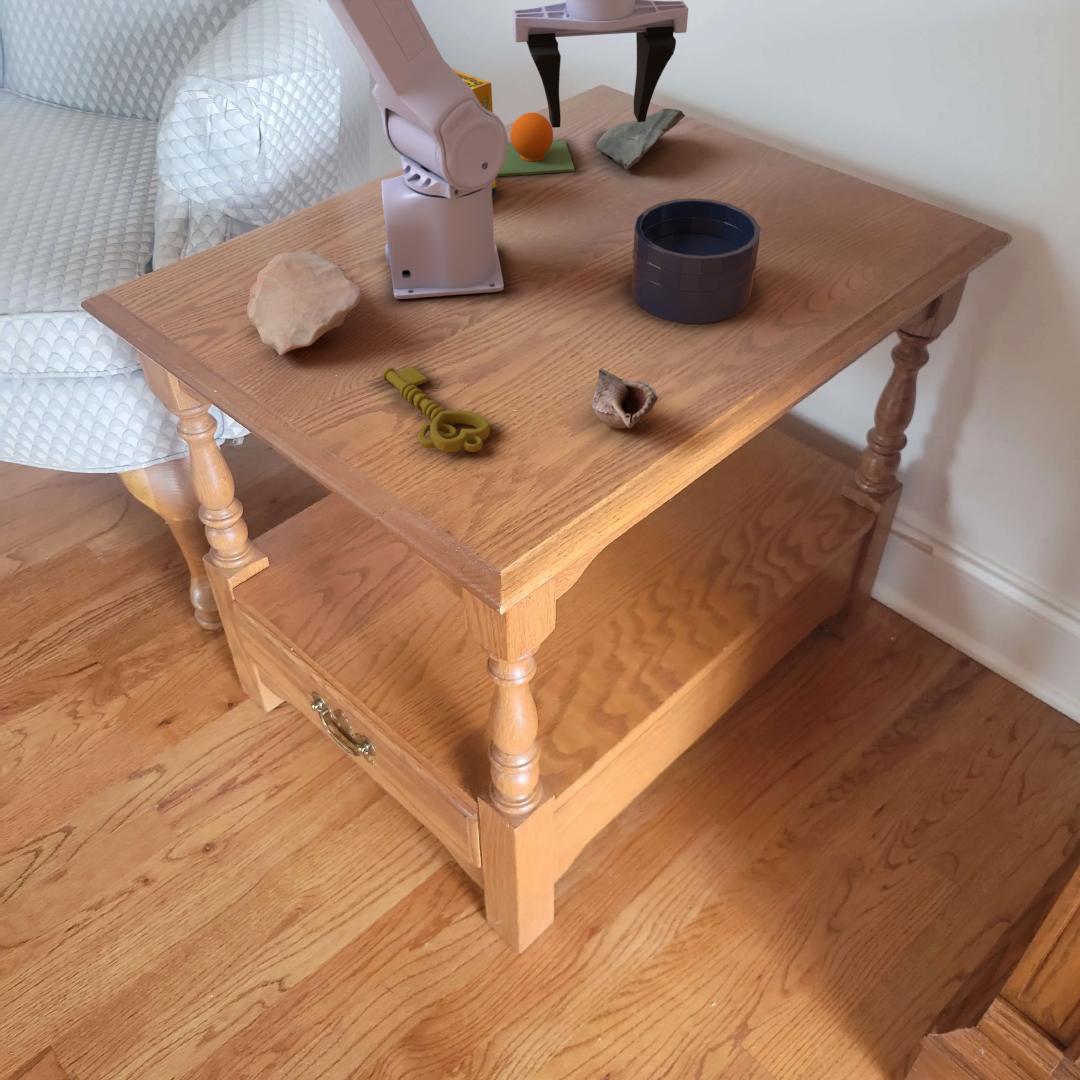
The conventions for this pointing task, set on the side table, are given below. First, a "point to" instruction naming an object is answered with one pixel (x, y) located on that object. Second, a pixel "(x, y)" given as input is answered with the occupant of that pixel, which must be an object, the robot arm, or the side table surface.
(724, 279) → the pot
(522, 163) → the green flat plate
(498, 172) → the robot arm
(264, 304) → the stone tool
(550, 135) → the orange
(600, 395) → the seashell
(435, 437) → the key
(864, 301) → the side table surface
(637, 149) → the stone
